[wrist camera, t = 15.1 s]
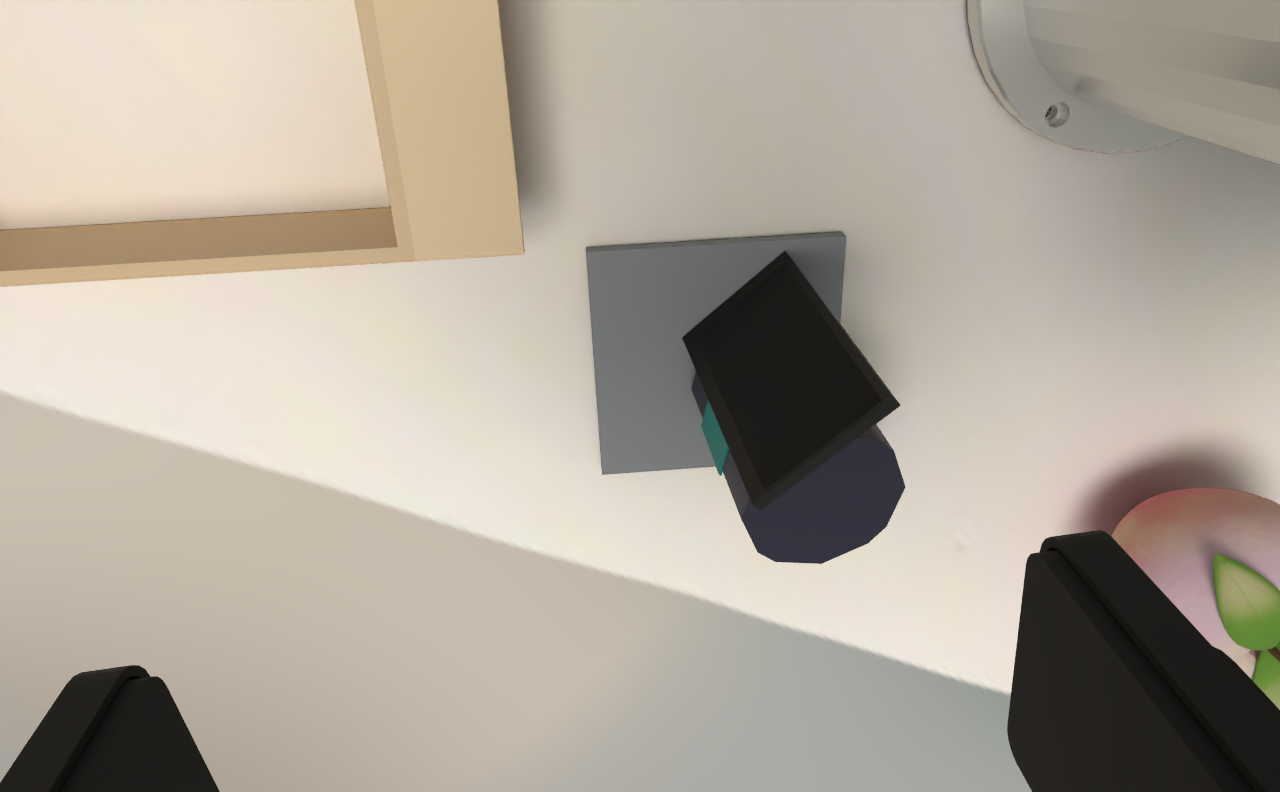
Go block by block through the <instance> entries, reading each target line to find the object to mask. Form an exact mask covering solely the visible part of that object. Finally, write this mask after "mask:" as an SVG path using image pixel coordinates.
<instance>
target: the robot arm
mask: <svg viewBox="0 0 1280 792" xmlns="http://www.w3.org/2000/svg"><path fill="white" fill-rule="evenodd" d="M968 23H969V28H970V33H971V39H972V44H973V49H974V53H975V56H976V58H977V61H978V63H979V65H980V68H981V70H982V73H983V75H984V78H985V80H986V82H987V84H988V85H989V87H990V88H991V90H992V91H993V92H994V94H995V95H996V97H997V98H998V99H999V101H1000V102H1001V104H1002V105H1003V107H1004V108H1005V109H1006V110H1008V111H1009V112H1010V113H1011V114H1012V115H1013V116H1014V117H1015V118H1017V119H1018V120H1019V121H1020V122H1021V123H1022V124H1023V125H1025V126H1026V127H1027V128H1029V129H1031V130H1033V131H1035V132H1037V133H1039V134H1041V135H1042V136H1044V137H1046V138H1048V139H1050V140H1052V141H1055V142H1058V143H1061V144H1064V145H1066V146H1069V147H1072V148H1074V149H1079V150H1085V151H1092V152H1099V153H1123V152H1138V151H1142V150H1146V149H1150V148H1154V147H1158V146H1162V145H1166V144H1170V143H1172V142H1174V141H1177V140H1179V139H1181V138H1184V137H1186V136H1188V135H1189V136H1192V137H1195V138H1198V139H1201V140H1204V141H1208V142H1211V143H1214V144H1217V145H1220V146H1223V147H1227V148H1230V149H1233V150H1236V151H1239V152H1242V153H1245V154H1249V155H1252V156H1255V157H1258V158H1261V159H1264V160H1267V161H1271V162H1274V163H1277V164H1280V0H968ZM1050 107H1051V112H1050V114H1049V115H1048V116H1047V117H1045V115H1046V113H1047V110H1048V109H1049V108H1050ZM1008 738H1009V743H1010V747H1011V750H1012V753H1013V756H1014V758H1015V761H1016V763H1017V765H1018V766H1019V768H1020V770H1021V772H1022V774H1023V776H1024V777H1025V779H1026V781H1027V783H1028V784H1029V787H1030V788H1031V790H1032V792H1280V710H1279V709H1278V707H1277V706H1276V705H1275V704H1274V703H1273V702H1272V701H1271V700H1270V699H1269V698H1268V697H1267V696H1266V695H1265V694H1264V692H1263V691H1262V690H1261V689H1260V688H1259V687H1258V686H1257V685H1256V684H1255V683H1254V682H1253V681H1252V680H1251V678H1250V677H1249V676H1248V675H1247V674H1246V673H1245V672H1244V671H1243V670H1242V669H1241V668H1240V667H1239V666H1238V664H1237V663H1236V662H1235V661H1233V660H1232V659H1231V658H1230V657H1229V656H1228V655H1226V654H1225V653H1224V652H1223V651H1222V650H1220V649H1217V648H1215V647H1213V646H1212V645H1211V644H1210V643H1209V642H1208V641H1207V640H1206V639H1205V638H1204V636H1203V635H1202V634H1201V633H1200V632H1199V631H1198V630H1197V629H1196V628H1195V627H1194V626H1193V624H1192V623H1191V622H1190V621H1189V620H1188V619H1187V618H1186V617H1185V616H1184V615H1183V614H1182V613H1181V611H1180V610H1179V609H1178V608H1177V607H1176V606H1175V605H1174V604H1173V603H1172V602H1171V601H1170V599H1169V598H1168V597H1167V596H1166V595H1165V594H1164V593H1163V592H1162V591H1161V590H1160V589H1159V587H1158V586H1157V585H1156V584H1155V583H1154V582H1153V581H1152V580H1151V579H1150V578H1149V577H1148V576H1147V574H1146V573H1145V572H1144V571H1143V570H1142V569H1141V568H1140V567H1139V566H1138V565H1137V564H1136V562H1135V561H1134V560H1133V559H1132V558H1131V557H1130V556H1129V555H1128V554H1127V553H1126V552H1125V550H1124V549H1123V548H1122V547H1121V546H1120V545H1119V544H1118V543H1117V542H1116V541H1115V540H1114V538H1112V537H1111V536H1110V535H1109V534H1108V533H1106V532H1103V531H1100V530H1098V531H1091V532H1083V533H1076V534H1069V535H1062V536H1055V537H1049V538H1047V539H1045V540H1044V542H1043V543H1042V545H1041V549H1040V553H1033V554H1030V556H1029V557H1028V559H1027V563H1026V571H1025V579H1024V588H1023V596H1022V605H1021V614H1020V622H1019V631H1018V640H1017V648H1016V657H1015V665H1014V674H1013V683H1012V691H1011V700H1010V708H1009V718H1008ZM0 792H219V790H218V788H217V786H216V784H215V782H214V780H213V778H212V776H211V774H210V772H209V770H208V768H207V766H206V764H205V762H204V760H203V758H202V756H201V754H200V752H199V750H198V748H197V746H196V744H195V742H194V740H193V738H192V736H191V734H190V732H189V730H188V728H187V726H186V724H185V722H184V720H183V718H182V716H181V714H180V712H179V710H178V708H177V706H176V704H175V702H174V700H173V698H172V696H171V694H170V692H169V690H168V688H167V686H166V685H165V683H164V682H163V680H162V679H160V678H159V677H150V675H149V674H148V673H147V671H146V670H145V669H144V668H142V667H140V666H134V665H132V666H124V667H117V668H110V669H103V670H96V671H89V672H81V673H79V674H78V675H76V676H74V677H73V678H72V679H71V680H70V681H69V682H68V683H67V684H66V686H65V687H64V689H63V690H62V692H61V693H60V695H59V696H58V698H57V699H56V701H55V702H54V704H53V705H52V707H51V708H50V710H49V711H48V713H47V714H46V716H45V717H44V719H43V720H42V721H41V723H40V725H39V726H38V728H37V729H36V730H35V732H34V733H33V735H32V736H31V738H30V739H29V741H28V742H27V744H26V745H25V747H24V748H23V750H22V751H21V753H20V754H19V756H18V757H17V759H16V760H15V762H14V763H13V765H12V766H11V768H10V769H9V771H8V772H7V774H6V775H5V777H4V778H3V780H2V781H1V783H0Z"/></svg>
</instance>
